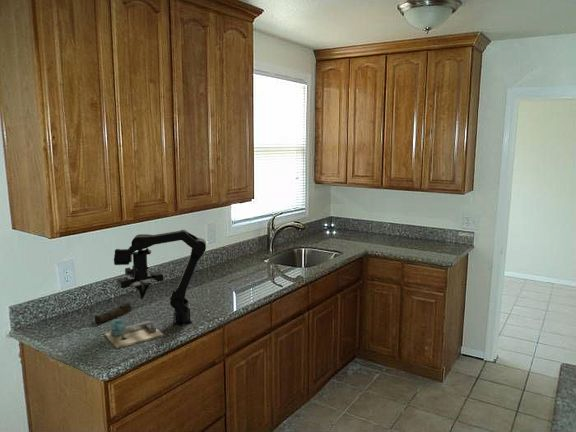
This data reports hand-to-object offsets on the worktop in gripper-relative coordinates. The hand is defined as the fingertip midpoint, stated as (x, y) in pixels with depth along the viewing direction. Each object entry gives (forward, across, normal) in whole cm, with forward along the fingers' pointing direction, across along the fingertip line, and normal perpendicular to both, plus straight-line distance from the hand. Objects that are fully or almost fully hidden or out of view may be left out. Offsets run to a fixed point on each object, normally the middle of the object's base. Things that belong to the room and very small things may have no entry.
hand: (141, 298), depth 197 cm
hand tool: (+12, +7, -17) cm, 22 cm away
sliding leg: (+11, +12, +7) cm, 18 cm away
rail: (+12, +7, +5) cm, 15 cm away
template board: (+12, +7, +9) cm, 17 cm away
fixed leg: (+11, 0, +9) cm, 14 cm away
